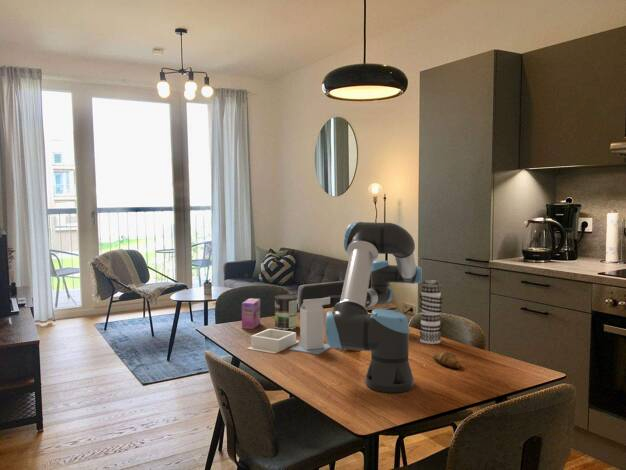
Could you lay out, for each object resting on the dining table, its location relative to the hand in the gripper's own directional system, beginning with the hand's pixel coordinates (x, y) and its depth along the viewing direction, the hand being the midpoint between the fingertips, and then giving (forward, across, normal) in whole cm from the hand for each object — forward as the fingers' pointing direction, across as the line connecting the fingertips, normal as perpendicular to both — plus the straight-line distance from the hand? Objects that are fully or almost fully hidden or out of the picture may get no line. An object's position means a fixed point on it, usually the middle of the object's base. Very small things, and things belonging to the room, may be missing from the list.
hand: (330, 304), depth 213 cm
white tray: (+18, +13, -16) cm, 28 cm away
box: (+6, +44, -16) cm, 48 cm away
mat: (+10, 0, -16) cm, 19 cm away
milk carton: (+10, 0, -16) cm, 19 cm away
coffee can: (-4, +32, -16) cm, 36 cm away
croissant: (-11, -47, -16) cm, 51 cm away
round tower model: (-32, -26, -16) cm, 44 cm away
